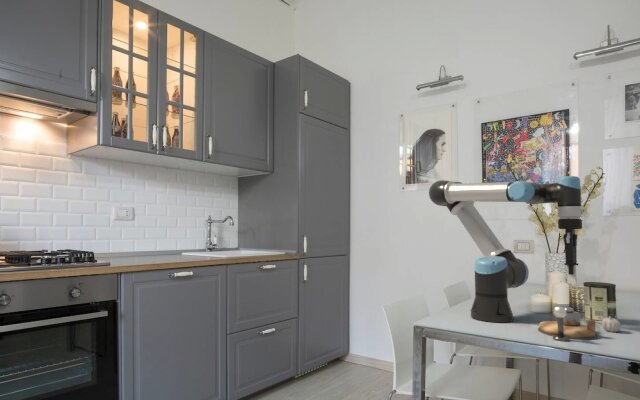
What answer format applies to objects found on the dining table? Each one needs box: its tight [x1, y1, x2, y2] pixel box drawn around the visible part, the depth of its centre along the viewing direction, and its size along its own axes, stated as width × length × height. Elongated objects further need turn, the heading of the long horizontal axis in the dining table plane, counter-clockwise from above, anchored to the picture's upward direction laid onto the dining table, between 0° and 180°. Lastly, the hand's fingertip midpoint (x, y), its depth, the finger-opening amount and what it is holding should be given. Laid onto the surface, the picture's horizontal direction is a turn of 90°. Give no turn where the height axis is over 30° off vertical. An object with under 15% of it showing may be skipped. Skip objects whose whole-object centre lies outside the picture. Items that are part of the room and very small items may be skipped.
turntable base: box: [537, 326, 598, 341], centre depth 138 cm, size 17×17×1 cm
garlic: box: [601, 316, 622, 333], centre depth 141 cm, size 6×5×5 cm
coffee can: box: [582, 281, 618, 324], centre depth 157 cm, size 10×10×14 cm
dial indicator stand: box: [552, 306, 570, 342], centre depth 131 cm, size 4×7×10 cm, turn 141°
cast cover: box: [556, 306, 582, 327], centre depth 142 cm, size 7×7×6 cm
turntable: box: [539, 320, 596, 338], centre depth 138 cm, size 16×16×5 cm
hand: (572, 283), depth 149 cm, fingers closed
